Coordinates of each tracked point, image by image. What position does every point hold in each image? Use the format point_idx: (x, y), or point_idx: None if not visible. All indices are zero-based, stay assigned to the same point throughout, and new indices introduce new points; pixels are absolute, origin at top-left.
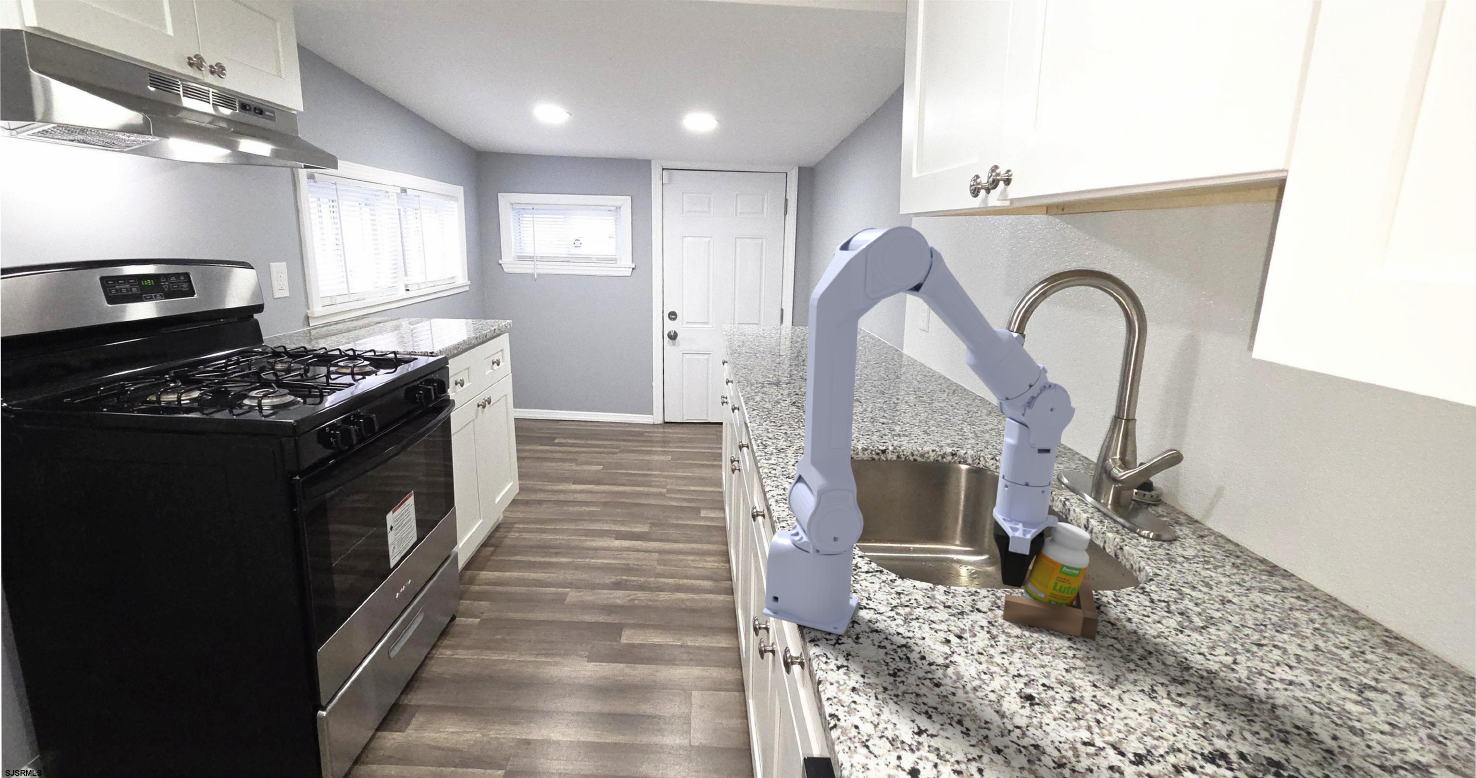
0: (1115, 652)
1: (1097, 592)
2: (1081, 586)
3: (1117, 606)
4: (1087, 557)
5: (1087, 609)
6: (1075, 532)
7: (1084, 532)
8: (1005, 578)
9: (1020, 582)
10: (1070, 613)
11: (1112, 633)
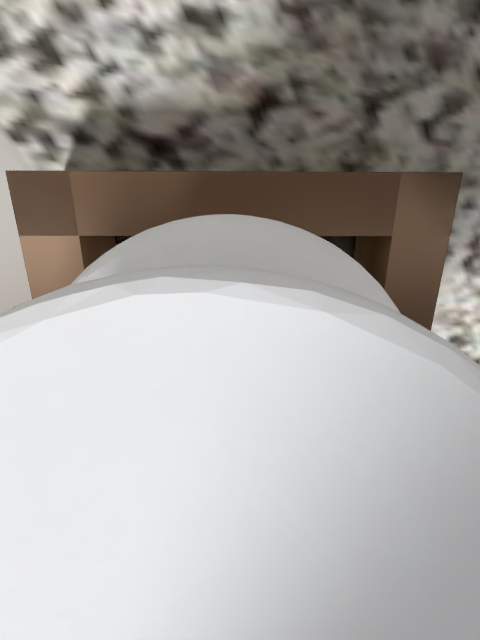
0: (471, 119)
1: (20, 131)
2: (162, 219)
3: (104, 56)
4: (287, 242)
5: (384, 212)
6: (269, 622)
7: (47, 414)
8: None
9: None
10: (439, 284)
11: (341, 111)
